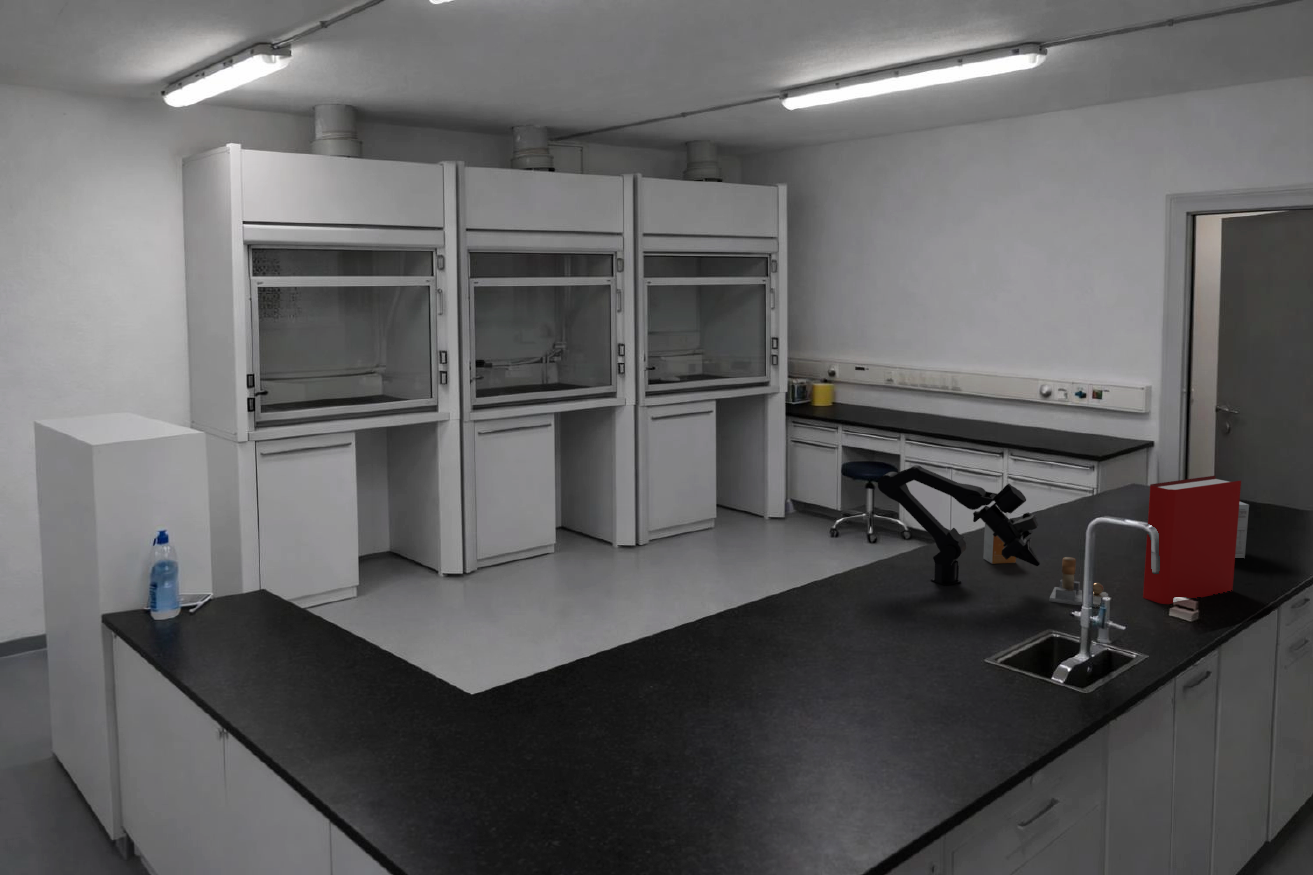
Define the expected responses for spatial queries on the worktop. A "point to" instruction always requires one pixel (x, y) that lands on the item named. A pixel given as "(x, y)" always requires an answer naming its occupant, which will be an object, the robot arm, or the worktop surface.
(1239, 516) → the supplement box
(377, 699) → the worktop surface
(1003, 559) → the small box
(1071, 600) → the nutcracker base
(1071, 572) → the lever
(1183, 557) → the book
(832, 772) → the worktop surface
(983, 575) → the worktop surface
